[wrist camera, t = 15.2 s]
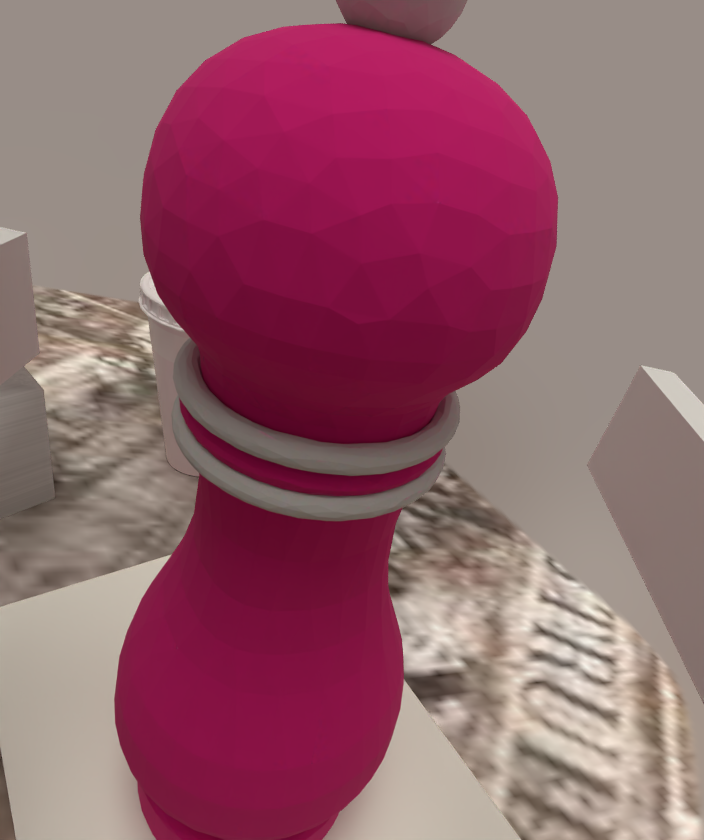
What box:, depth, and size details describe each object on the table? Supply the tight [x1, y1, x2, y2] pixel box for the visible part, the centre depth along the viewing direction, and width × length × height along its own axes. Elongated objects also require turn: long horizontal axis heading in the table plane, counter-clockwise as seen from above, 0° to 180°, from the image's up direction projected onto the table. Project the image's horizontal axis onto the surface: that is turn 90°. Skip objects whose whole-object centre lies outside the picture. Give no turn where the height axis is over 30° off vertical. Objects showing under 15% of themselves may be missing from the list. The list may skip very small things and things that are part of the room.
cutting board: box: [0, 555, 521, 840], centre depth 18 cm, size 17×12×2 cm
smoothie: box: [138, 272, 199, 476], centre depth 27 cm, size 6×6×14 cm
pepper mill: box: [114, 0, 558, 840], centre depth 12 cm, size 7×7×20 cm
